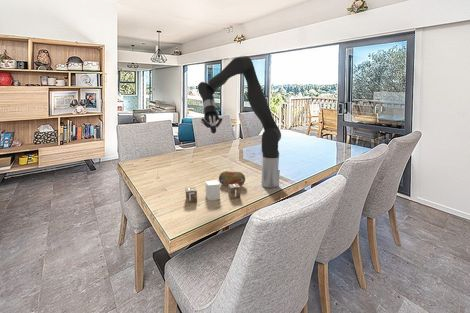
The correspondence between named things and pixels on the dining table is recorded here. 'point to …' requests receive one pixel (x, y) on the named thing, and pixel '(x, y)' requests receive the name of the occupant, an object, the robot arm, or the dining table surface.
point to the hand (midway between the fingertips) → (213, 132)
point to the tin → (231, 178)
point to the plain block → (212, 190)
